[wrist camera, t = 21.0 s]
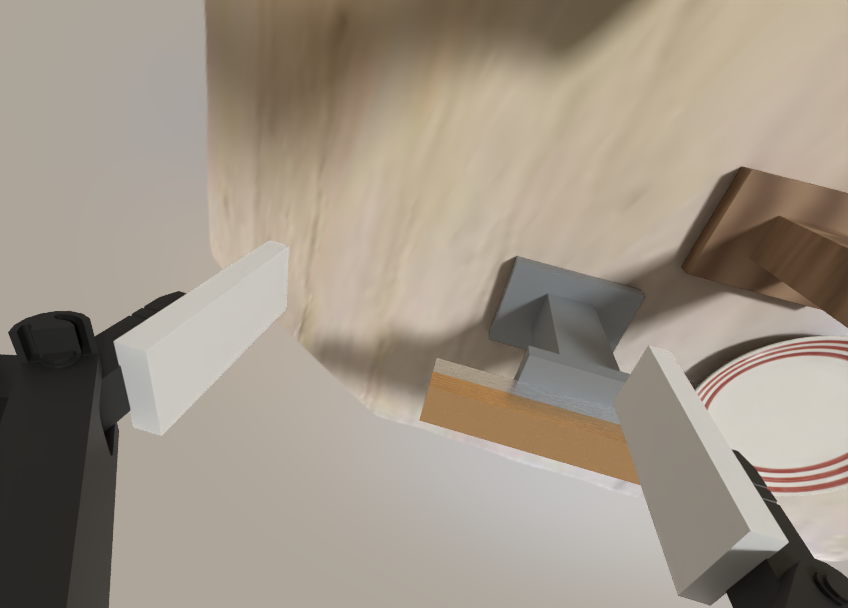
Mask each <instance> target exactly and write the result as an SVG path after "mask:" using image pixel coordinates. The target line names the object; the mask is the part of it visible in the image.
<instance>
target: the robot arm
mask: <svg viewBox="0 0 848 608" xmlns="http://www.w3.org/2000/svg"><path fill="white" fill-rule="evenodd" d="M288 262H289V245H285V244H282V243H278V242H274V241H271V240H269V241H267V242H266V243H264V244H262V245H261V246H259V247H258V248H256V249H255V250H253V251H252V252H250V253H249V254H247V255H245V256H244V257H242V258H241V259H239V260H238V261H236V262H235V263H233V264H232V265H230V266H229V267H227V268H225V269H224V270H222V271H221V272H219V273H218V274H216V275H215V276H213V277H212V278H210V279H209V280H207V281H206V282H204V283H202V284H201V285H199V286H198V287H196V288H195V289H193V290H192V291H190V292H189V293H183V292H180V291H178V292H174V293H171V294H168V295H165V296H162V297H159V298H157V299H156V300H154V301H152V302H151V303H149V304H148V305H146V306H145V307H144V309H143V308H141V309H139V310H138V311H136V312H134V313H133V314H132V316H128V317H126V318H125V319H123V320H121V321H119V322H118V323H116V324H115V325H113V326H111V327H110V328H108V329H106V330H105V331H103V332H102V333H100V334H98V335H97V336H95V337H94V333H93V329H92V325H91V322H90V318H88V317H87V316H85V315H84V314H81V313H77V312H72V311H54V312H48V313H42V314H38V315H35V316H32V317H29V318H26V319H24V320H22V321H21V322H19V323H17V324H15V325H14V326H13V327H12V328H11V330H10V331H9V332H8V333H9V336H10V338H11V341H12V344H13V346H14V349H15V351H16V354H17V355H1V354H0V608H109V592H110V575H111V558H112V541H113V523H114V506H115V489H116V472H117V454H118V438H119V429H118V425H117V421H119V420H120V419H121V418H122V417H123V416H124V415H126V414H127V413H128V412H129V411H130V415H131V420H132V424H133V427H134V428H137V429H140V430H143V431H147V432H150V433H153V434H157V435H159V436H162V435H163V434H164V433H165V432H166V431H167V430H168V429H169V428H170V426H172V425H173V424H174V423H175V421H177V420H178V418H180V417H181V416H182V414H184V413H185V412H186V411H187V410H188V409H189V407H190V406H191V405H192V404H193V403H194V402H195V401H196V400H197V399H198V398H199V397H200V396H201V395H202V394H203V393H204V392H205V391H206V390H207V389H208V388H209V387H210V386H211V385H212V384H213V383H214V382H215V381H216V380H217V379H218V378H219V377H220V376H221V375H222V374H223V373H224V372H225V371H226V370H227V369H228V368H229V367H230V366H231V365H232V364H233V363H234V362H235V361H236V360H237V359H238V358H239V357H240V356H241V355H242V354H243V353H244V351H246V350H247V348H249V346H251V344H253V343H254V342H255V341H256V339H257V338H258V337H259V336H260V335H261V334H262V333H263V332H264V331H265V330H266V329H267V328H268V327H269V326H270V325H271V324H272V323H273V322H274V321H275V320H276V319H277V318H278V317H279V316H280V315H281V314H282V313H283V312H284V311H285V310H286V309H287V285H288ZM613 404H614V407H615V410H616V413H617V416H618V419H619V422H620V425H621V428H622V431H623V434H624V437H625V440H626V443H627V446H628V449H629V452H630V455H631V458H632V461H633V463H634V466H635V469H636V472H637V475H638V478H639V481H640V484H641V487H642V490H643V493H644V496H645V499H646V502H647V505H648V508H649V511H650V513H651V517H652V519H653V523H654V526H655V529H656V531H657V534H658V537H659V540H660V543H661V546H662V549H663V552H664V555H665V558H666V561H667V564H668V567H669V570H670V573H671V576H672V579H673V582H674V585H675V588H676V591H677V594H678V596H681V597H685V598H688V599H691V600H694V601H697V602H701V603H704V604H707V605H712V604H713V603H714V602H716V601H717V600H718V599H719V598H721V597H722V596H723V595H724V594H725V593H727V595H728V597H729V599H730V602H731V604H732V606H733V608H848V578H847V577H846V576H844V575H843V574H842V573H841V572H839V571H838V570H836V569H835V568H833V567H831V566H830V565H828V564H827V563H825V562H822V561H820V560H817V559H814V557H813V556H812V554H811V553H810V551H809V550H808V548H807V546H806V545H805V543H804V542H803V540H802V539H801V537H800V536H799V534H798V533H797V531H796V530H795V528H794V527H793V525H792V523H791V522H790V520H789V519H788V517H787V516H786V514H785V513H784V511H783V510H782V508H781V507H780V505H778V504H776V502H777V500H776V499H775V497H774V496H773V494H772V493H771V491H770V490H768V489H767V485H766V484H765V482H764V481H763V479H762V478H761V476H760V474H759V473H758V471H757V470H756V468H755V467H754V466H753V465H752V464H751V463H750V462H749V461H748V460H747V459H746V458H745V457H744V456H743V455H742V454H741V453H740V452H739V451H736V450H733V449H731V448H730V446H729V445H728V443H727V441H726V440H725V438H724V437H723V435H722V433H721V432H720V430H719V429H718V427H717V425H716V424H715V422H714V420H713V419H712V417H711V416H710V414H709V412H708V411H707V409H706V408H705V406H704V404H703V403H702V401H701V400H700V398H699V396H698V395H697V393H696V391H695V390H694V388H693V387H692V385H691V383H690V382H689V380H688V379H687V377H686V375H685V374H684V372H683V371H682V369H681V367H680V366H679V364H678V362H677V361H676V359H675V358H674V356H673V354H672V353H671V351H667V350H664V349H660V348H656V347H653V346H648V347H647V349H646V350H645V352H644V354H643V355H642V357H641V358H640V360H639V362H638V363H637V365H636V366H635V368H634V370H633V371H632V373H631V374H630V376H629V378H628V379H627V381H626V382H625V384H624V386H623V387H622V389H621V390H620V392H619V394H618V395H617V397H616V398H615V400H614V402H613Z"/></svg>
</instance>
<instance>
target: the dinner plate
mask: <svg viewBox="0 0 848 608" xmlns="http://www.w3.org/2000/svg"><path fill="white" fill-rule="evenodd" d="M695 391H696V393H697V395H698V396H699V398H700V400H701V401H702V403H703V404H704V406H705V408H706V409H707V411H708V412H709V414H710V416H711V417H712V419H713V420H714V422H715V424H716V425H717V427H718V429H719V430H720V432H721V433H722V435H723V437H724V438H725V440H726V441H727V443H728V445H729V446H730V448H731V449H733V450H736V451H739V452H740V453H741V454H742V455H743V456H744V457H745V458H746V459H747V460H748V461H749V462H750V463H751V464H752V465H753V466H754V467H755V468H756V470H757V471H758V473H759V474H760V476H761V478H762V479H763V481H764V482H765V484H766V485H767V489H768V490H770V491H771V493H772V494H773V496H805V495H815V494H822V493H827V492H832V491H837V490H841V489H844V488H848V336H814V337H804V338H797V339H792V340H786V341H782V342H778V343H774V344H770V345H767V346H764V347H761V348H758V349H755V350H753V351H750V352H748V353H746V354H744V355H742V356H740V357H738V358H736V359H734V360H732V361H730V362H728V363H727V364H725V365H723V366H722V367H720V368H719V369H717V370H716V371H715V372H713V373H712V374H711V375H710V376H709V377H707V378H706V379H705V380H704V381H703V382H702V383H701V384H700V385H699V386H698V387H697V388H696V389H695Z"/></svg>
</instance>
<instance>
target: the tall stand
mask: <svg viewBox="0 0 848 608" xmlns="http://www.w3.org/2000/svg"><path fill="white" fill-rule="evenodd" d="M681 268H682V269H683V270H684V271H685V272H686V273H687V274H689V275H693V276H697V277H701V278H704V279H708V280H712V281H716V282H719V283H723V284H727V285H731V286H734V287H738V288H742V289H746V290H749V291H753V292H757V293H761V294H764V295H768V296H772V297H776V298H779V299H783V300H787V301H791V302H794V303H798V304H802V305H806V306H809V307H813V308H817V309H821V310H823V311H825V312H826V313H828V314H829V315H830V316H832V317H833V318H835V319H836V320H837V321H839V322H840V323H842V324H843V325H844V326H846V327H847V328H848V193H845V192H841V191H838V190H834V189H830V188H826V187H822V186H818V185H814V184H810V183H806V182H802V181H798V180H794V179H790V178H786V177H782V176H778V175H774V174H770V173H766V172H762V171H758V170H754V169H750V168H746V167H741V169H740V170H739V172H738V174H737V175H736V177H735V179H734V180H733V182H732V184H731V185H730V187H729V189H728V190H727V192H726V194H725V195H724V197H723V199H722V200H721V202H720V204H719V205H718V207H717V209H716V210H715V212H714V214H713V215H712V217H711V219H710V220H709V222H708V224H707V225H706V227H705V229H704V230H703V232H702V234H701V235H700V237H699V239H698V240H697V242H696V244H695V245H694V247H693V249H692V250H691V252H690V254H689V255H688V257H687V259H686V260H685V262H684V264H683V265H682V267H681Z"/></svg>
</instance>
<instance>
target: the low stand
mask: <svg viewBox="0 0 848 608" xmlns="http://www.w3.org/2000/svg"><path fill="white" fill-rule="evenodd" d="M644 298H645V296H644V294H643V293H642V291H641V290H640V289H637V288H633V287H629V286H625V285H622V284H618V283H614V282H611V281H607V280H603V279H600V278H596V277H592V276H588V275H585V274H581V273H577V272H574V271H570V270H566V269H563V268H559V267H555V266H552V265H548V264H544V263H540V262H537V261H533V260H529V259H526V258H522V257H518V256H516V259H515V262H514V265H513V267H512V270H511V273H510V276H509V279H508V281H507V284H506V287H505V290H504V292H503V295H502V298H501V301H500V303H499V306H498V309H497V312H496V314H495V317H494V320H493V323H492V326H491V328H490V331H489V339H490V340H494V341H497V342H501V343H504V344H508V345H511V346H515V347H518V348H522V349H526V353H525V355H524V357H523V360H522V362H521V364H520V367H519V369H518V371H517V374H516V376H515V378H514V380H517V381H520V382H524V383H527V384H531V385H534V386H538V387H541V388H545V389H549V390H552V391H556V392H559V393H563V394H566V395H570V396H573V397H577V398H580V399H584V400H587V401H591V402H594V403H598V404H601V405H605V406H608V407H612V408H615V407H614V404H613V402H614V400H615V398H616V397H617V395H618V394H619V392H620V390H621V389H622V387H623V386H624V384H625V382H626V381H627V379H628V378H629V376H630V374H628V373H624V372H621V371H620V370H619V367H618V365H617V362H616V360H615V357H614V355H613V352H614V350H615V348H616V346H617V345H618V343H619V341H620V339H621V338H622V336H623V334H624V332H625V331H626V329H627V327H628V325H629V324H630V322H631V320H632V319H633V317H634V315H635V313H636V312H637V310H638V308H639V306H640V305H641V303H642V301H643V299H644Z"/></svg>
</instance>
